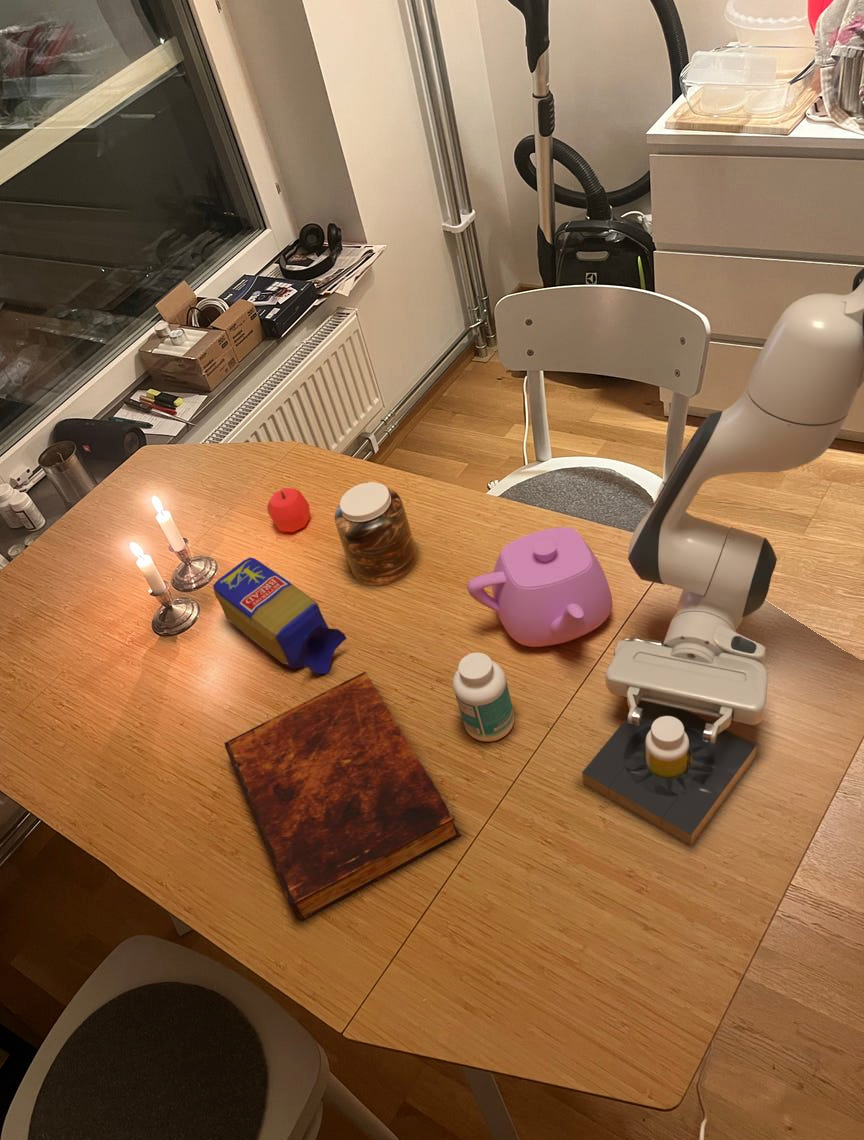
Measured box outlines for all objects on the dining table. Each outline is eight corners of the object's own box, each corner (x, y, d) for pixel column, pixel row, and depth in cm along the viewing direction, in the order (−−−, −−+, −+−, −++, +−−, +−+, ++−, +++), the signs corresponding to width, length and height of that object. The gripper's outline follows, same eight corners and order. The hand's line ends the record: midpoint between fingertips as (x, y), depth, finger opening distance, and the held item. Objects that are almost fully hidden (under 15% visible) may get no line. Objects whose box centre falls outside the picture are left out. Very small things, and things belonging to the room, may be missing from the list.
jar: (365, 537, 167) (344, 473, 156) (425, 541, 162) (408, 476, 151) (343, 584, 160) (319, 520, 149) (404, 589, 156) (385, 525, 145)
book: (234, 761, 140) (223, 743, 136) (374, 690, 143) (366, 670, 139) (301, 922, 120) (289, 905, 116) (461, 836, 123) (455, 817, 119)
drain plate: (755, 757, 121) (756, 744, 118) (690, 846, 115) (691, 834, 112) (648, 704, 130) (648, 691, 127) (583, 784, 124) (581, 772, 121)
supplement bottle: (694, 781, 120) (696, 739, 113) (654, 792, 120) (654, 751, 113) (678, 749, 124) (679, 706, 117) (639, 759, 124) (638, 717, 117)
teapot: (464, 601, 151) (449, 534, 140) (587, 563, 150) (581, 493, 139) (504, 705, 135) (490, 639, 124) (641, 663, 135) (639, 593, 124)
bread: (268, 588, 164) (249, 547, 156) (355, 652, 149) (339, 610, 141) (224, 622, 160) (202, 582, 153) (309, 692, 146) (289, 650, 138)
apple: (314, 506, 176) (302, 473, 170) (314, 533, 171) (302, 501, 165) (275, 514, 177) (261, 482, 171) (273, 542, 172) (260, 510, 166)
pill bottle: (516, 702, 135) (505, 644, 125) (513, 744, 130) (500, 686, 121) (467, 702, 137) (451, 644, 127) (461, 743, 132) (445, 687, 123)
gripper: (619, 619, 125) (588, 697, 118) (778, 649, 116) (755, 735, 109) (621, 649, 130) (591, 725, 123) (774, 679, 121) (752, 764, 114)
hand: (670, 730), depth 116 cm, fingers open, 8 cm apart
